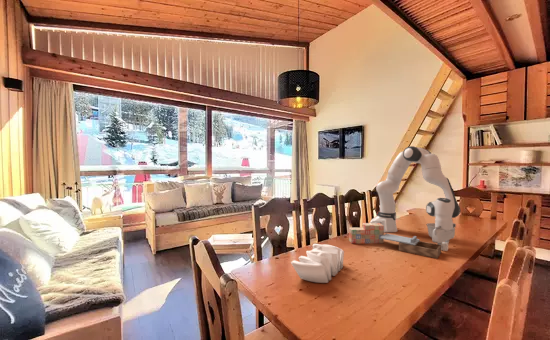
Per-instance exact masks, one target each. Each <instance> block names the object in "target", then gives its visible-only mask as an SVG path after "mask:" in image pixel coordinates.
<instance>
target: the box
mask: <svg viewBox="0 0 550 340" xmlns="http://www.w3.org/2000/svg"><path fill="white" fill-rule="evenodd" d="M398 251H399V252H404V253H408V254H413V255H417V256H422V257H426V258H431V259H432V258H433V259H436V260H437V259H439V257H440V256H441V254H442V250H441V245H438V243H434V242H426V241H421V240H420V241H419V242H418V243H417V244H416V245H411V244H406V243H401V242H398Z"/></svg>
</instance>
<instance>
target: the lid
mask: <svg viewBox="0 0 550 340" xmlns="http://www.w3.org/2000/svg"><path fill="white" fill-rule="evenodd" d="M380 239H384V240H386V241H390V242H391V241H392V242H396V243H399V242H401V243H406V244H411V245H416V244H417V243H418V242H419V241H421V240H420V239H419V238H418V237H417V236H416V235H413V236H412V237H407V236H402V235H397V234H390V233H384V235H383V236H381V237H380Z"/></svg>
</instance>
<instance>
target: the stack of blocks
mask: <svg viewBox="0 0 550 340" xmlns="http://www.w3.org/2000/svg"><path fill="white" fill-rule="evenodd" d="M384 234H385V232H384V225H382V224H380V223H370V222H362V224H361V227H349V228H348V241H349V242H350V244H384V240H385V239H380V237H381V236H383V235H384Z"/></svg>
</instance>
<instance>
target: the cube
mask: <svg viewBox="0 0 550 340" xmlns="http://www.w3.org/2000/svg"><path fill="white" fill-rule="evenodd" d="M442 246H443V249H441V251H444V252H448V251H449V243H447V242H445V241H444V242H442Z"/></svg>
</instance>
